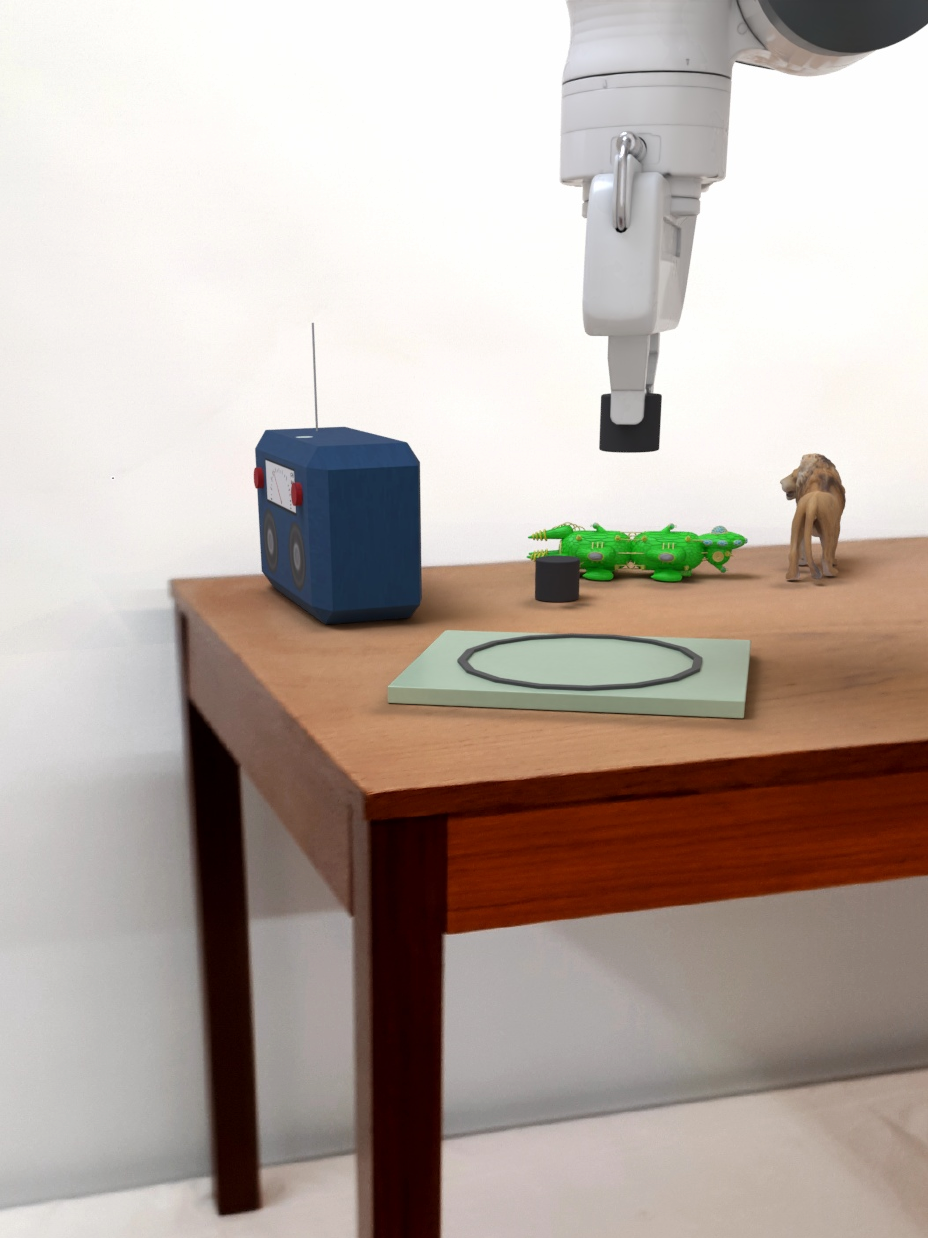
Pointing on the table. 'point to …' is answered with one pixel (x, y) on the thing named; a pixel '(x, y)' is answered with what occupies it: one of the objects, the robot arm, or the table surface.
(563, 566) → the eye dot
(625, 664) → the board
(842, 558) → the table surface
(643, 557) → the green toy spaceship
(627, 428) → the eye dot
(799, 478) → the lion figurine
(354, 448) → the radio
